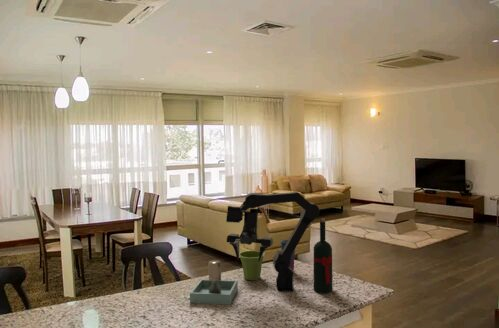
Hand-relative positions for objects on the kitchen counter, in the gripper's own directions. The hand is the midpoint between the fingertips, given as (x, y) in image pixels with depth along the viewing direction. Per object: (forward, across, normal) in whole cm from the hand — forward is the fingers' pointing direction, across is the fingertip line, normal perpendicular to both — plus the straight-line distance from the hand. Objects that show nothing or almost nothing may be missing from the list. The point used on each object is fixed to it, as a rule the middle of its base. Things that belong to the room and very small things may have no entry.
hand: (248, 260), depth 169 cm
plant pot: (+12, -2, +16) cm, 20 cm away
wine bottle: (+11, +31, +6) cm, 34 cm away
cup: (+11, +13, +27) cm, 32 cm away
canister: (+13, -11, -8) cm, 19 cm away
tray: (+14, -11, -8) cm, 20 cm away
